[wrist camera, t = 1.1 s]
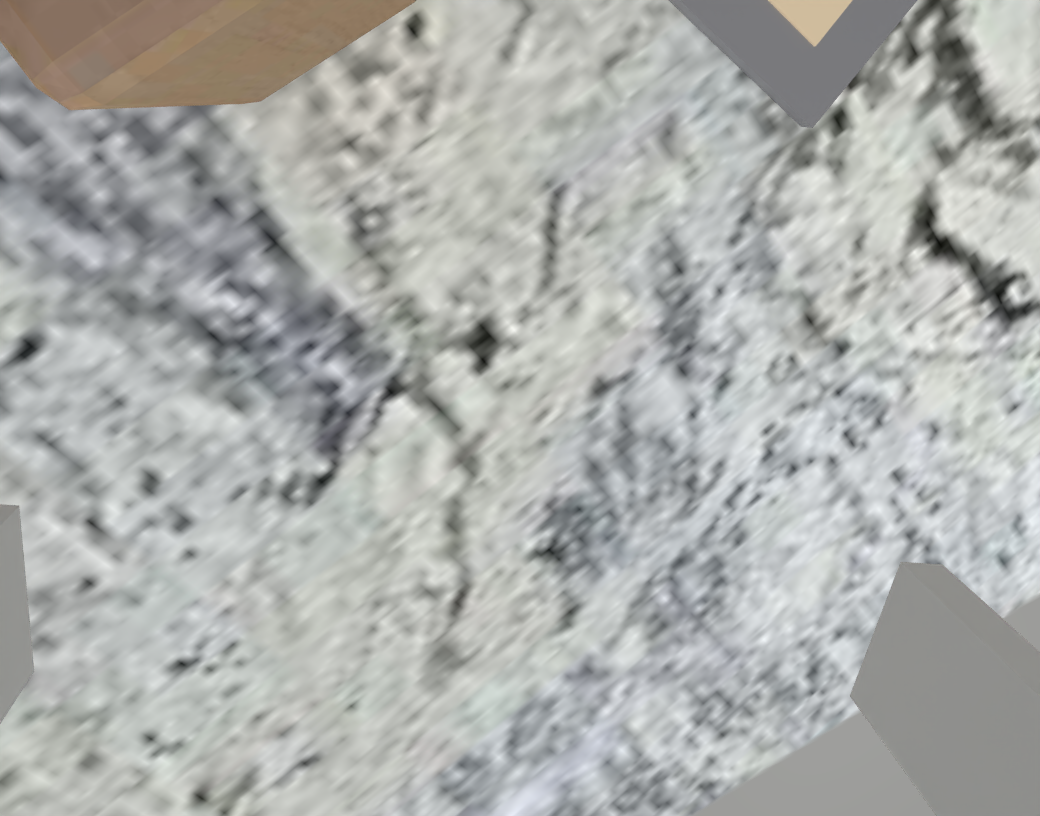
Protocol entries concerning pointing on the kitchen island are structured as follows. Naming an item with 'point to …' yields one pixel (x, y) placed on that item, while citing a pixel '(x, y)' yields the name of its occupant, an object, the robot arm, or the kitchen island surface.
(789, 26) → the board
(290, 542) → the kitchen island surface
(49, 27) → the wooden block
